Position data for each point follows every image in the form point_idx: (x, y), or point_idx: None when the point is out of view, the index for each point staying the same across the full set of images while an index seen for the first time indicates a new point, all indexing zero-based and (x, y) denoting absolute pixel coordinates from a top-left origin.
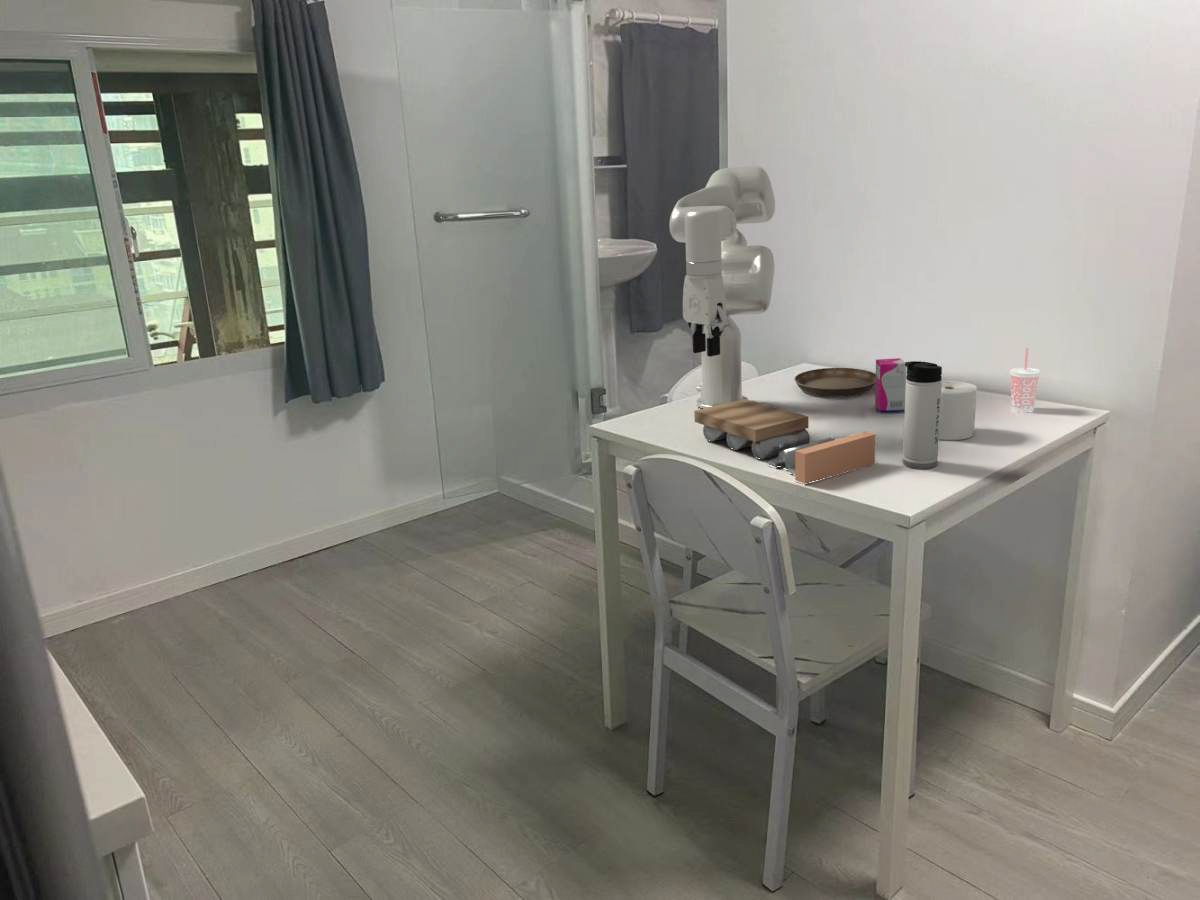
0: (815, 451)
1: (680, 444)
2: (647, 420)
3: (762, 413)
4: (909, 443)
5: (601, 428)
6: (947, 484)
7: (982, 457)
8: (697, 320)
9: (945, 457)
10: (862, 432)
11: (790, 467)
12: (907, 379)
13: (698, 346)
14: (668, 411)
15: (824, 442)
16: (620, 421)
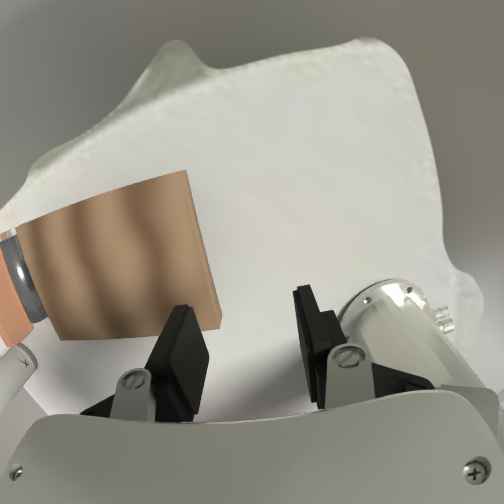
0: None
1: (180, 126)
2: (387, 145)
3: (92, 295)
4: (4, 356)
5: (380, 45)
6: None
7: (42, 397)
8: (153, 441)
9: (41, 382)
10: (10, 342)
11: (6, 235)
12: None
13: (298, 324)
14: (416, 217)
15: (22, 305)
16: (408, 98)
